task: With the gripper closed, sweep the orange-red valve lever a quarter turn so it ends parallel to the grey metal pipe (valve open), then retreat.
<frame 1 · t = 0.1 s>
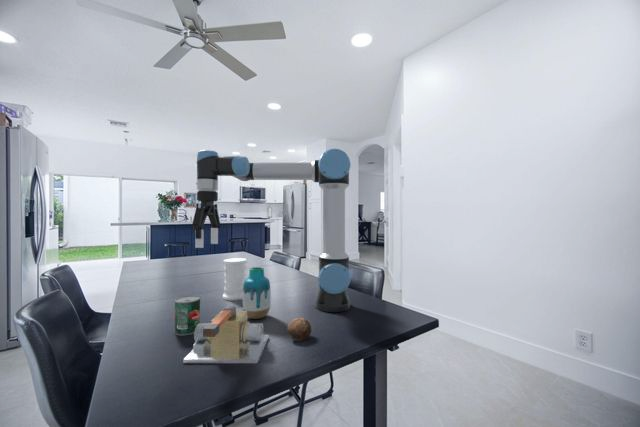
hand: (207, 245, 105), 28 cm above the table, fingers open, 13 cm apart
vase: (256, 318, 105), on the table
brown round lump: (299, 338, 88), on the table
valve: (229, 349, 80), on the table
decorative container: (235, 297, 132), on the table
lever: (221, 320, 74), point 11 cm above the table, hinge at 90.0°
canned tomato: (187, 331, 94), on the table
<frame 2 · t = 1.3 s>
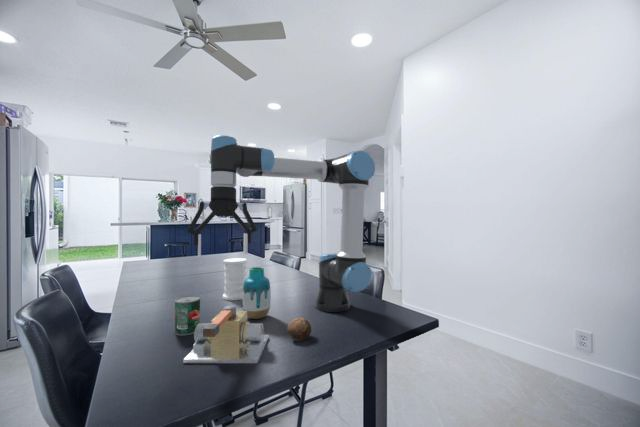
hand: (223, 255, 84), 27 cm above the table, fingers open, 13 cm apart
nothing on the table moved.
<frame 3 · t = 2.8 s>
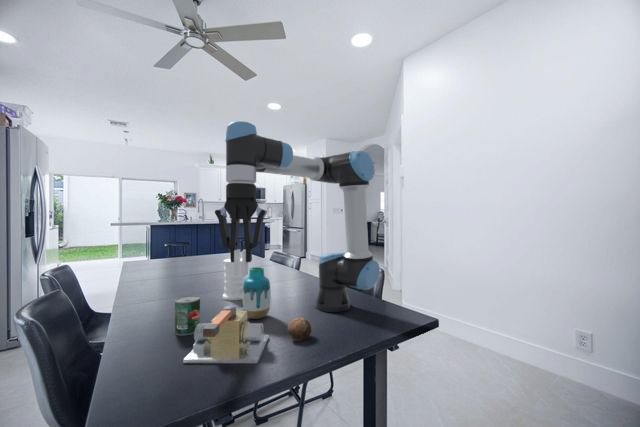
hand: (241, 274, 70), 24 cm above the table, fingers closed
nothing on the table moved.
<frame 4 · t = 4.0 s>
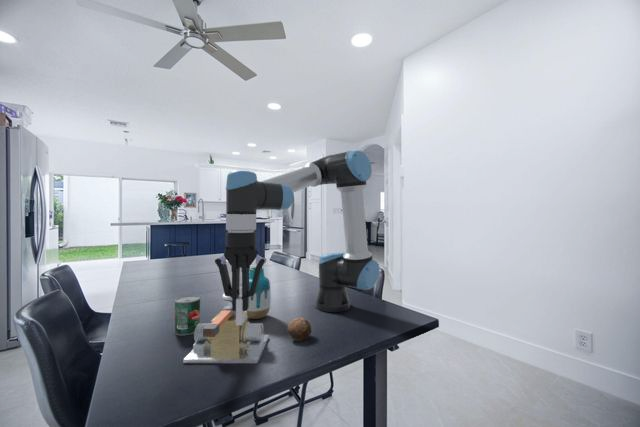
hand: (240, 323, 70), 12 cm above the table, fingers closed
nothing on the table moved.
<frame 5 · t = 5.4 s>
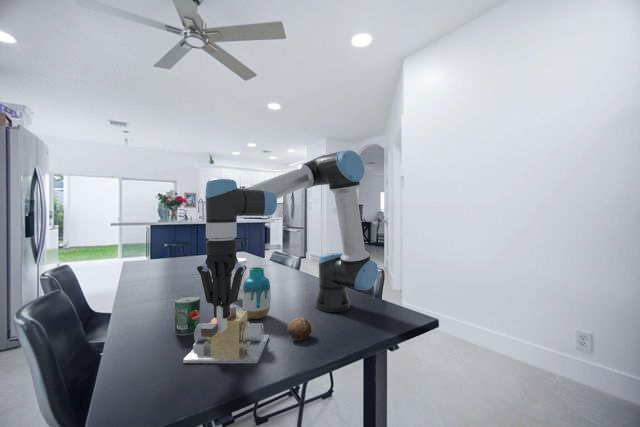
hand: (222, 330, 70), 10 cm above the table, fingers closed
lever: (220, 320, 74), point 11 cm above the table, hinge at 88.1°, touching gripper
everything else where it was.
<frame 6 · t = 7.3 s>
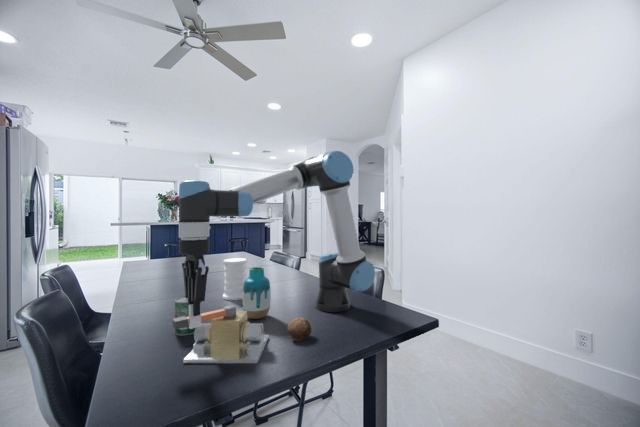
hand: (194, 326, 72), 10 cm above the table, fingers closed
lever: (206, 317, 76), point 11 cm above the table, hinge at 40.9°, touching gripper
everything else where it was.
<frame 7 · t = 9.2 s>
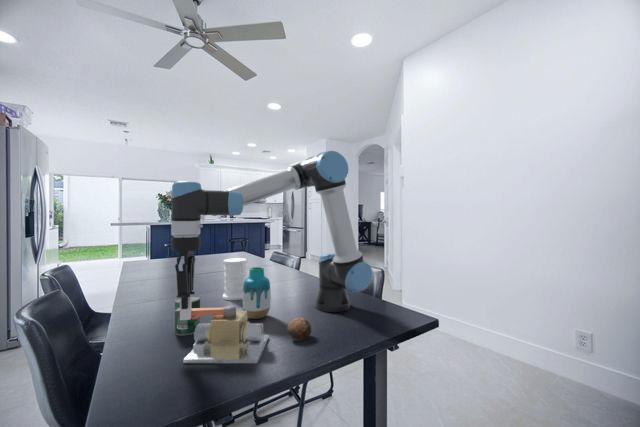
hand: (185, 318, 77), 10 cm above the table, fingers closed
lever: (206, 312, 80), point 11 cm above the table, hinge at 6.2°
everything else where it was.
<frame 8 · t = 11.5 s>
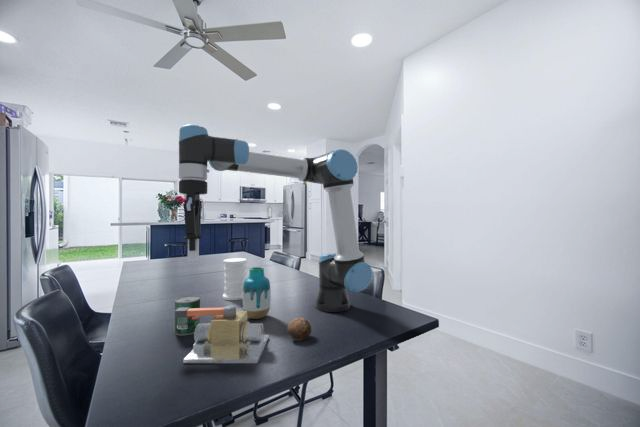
hand: (193, 261, 79), 26 cm above the table, fingers closed
nothing on the table moved.
at the end: lever at +6° (first picture: +90°) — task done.
